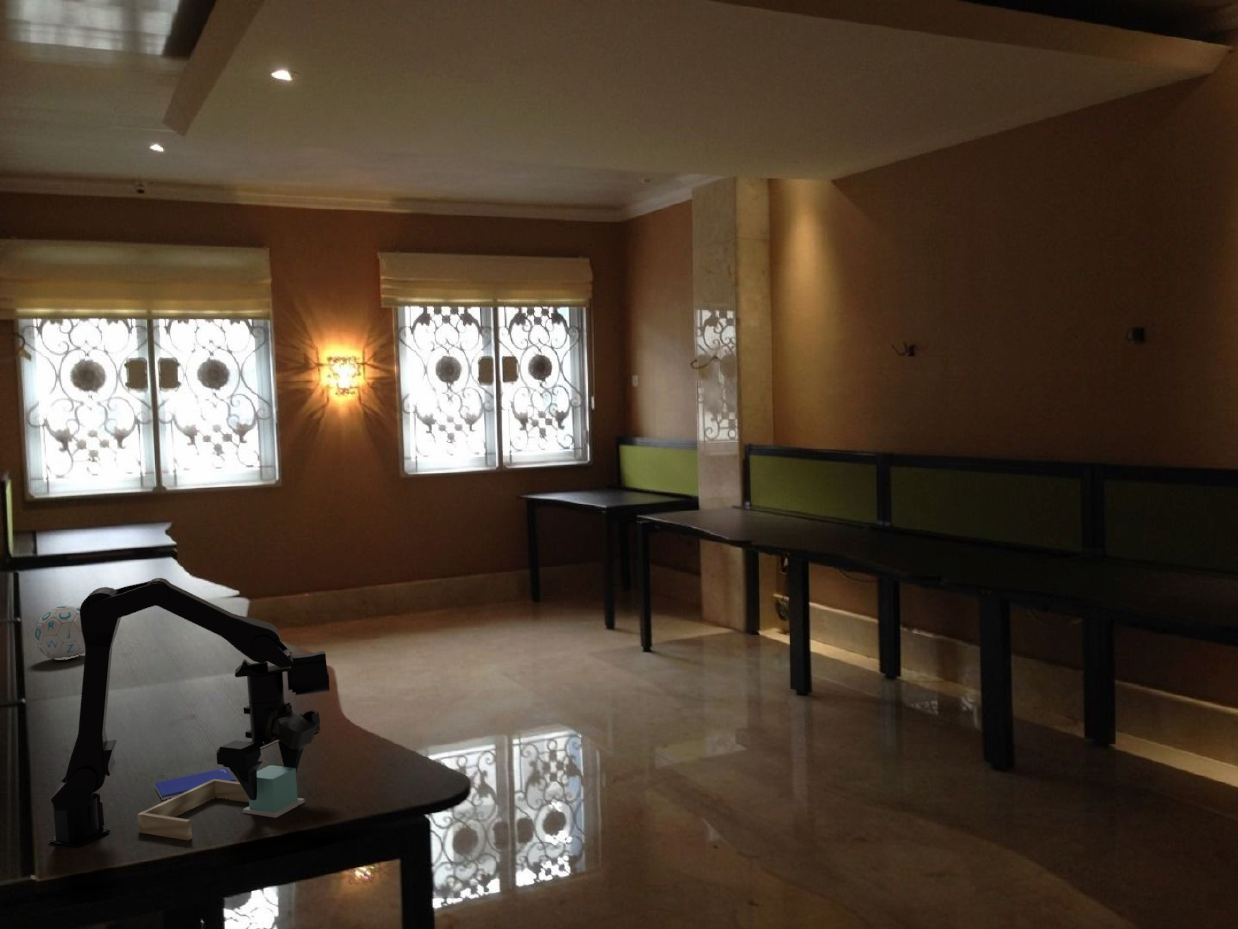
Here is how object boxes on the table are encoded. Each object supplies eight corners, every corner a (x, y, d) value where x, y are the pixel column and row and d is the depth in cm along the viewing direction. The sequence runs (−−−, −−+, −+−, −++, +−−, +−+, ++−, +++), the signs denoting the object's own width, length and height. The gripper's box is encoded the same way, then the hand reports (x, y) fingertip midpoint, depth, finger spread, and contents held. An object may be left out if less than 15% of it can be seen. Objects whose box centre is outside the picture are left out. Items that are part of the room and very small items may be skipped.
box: (188, 840, 171) (186, 821, 171) (138, 832, 175) (137, 814, 175) (262, 802, 186) (261, 785, 186) (215, 795, 191) (214, 778, 190)
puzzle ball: (42, 657, 309) (38, 604, 308) (100, 650, 314) (96, 599, 313) (31, 669, 295) (26, 614, 294) (92, 662, 299) (87, 608, 298)
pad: (276, 817, 179) (275, 814, 179) (243, 812, 182) (243, 809, 182) (304, 802, 185) (304, 798, 185) (272, 797, 188) (272, 794, 188)
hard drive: (225, 766, 203) (154, 782, 196) (235, 778, 196) (161, 795, 189) (226, 775, 203) (154, 790, 196) (236, 787, 196) (162, 804, 189)
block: (275, 812, 180) (272, 779, 179) (249, 808, 182) (247, 776, 182) (297, 800, 185) (295, 768, 184) (272, 796, 187) (270, 765, 187)
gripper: (264, 719, 171) (271, 816, 172) (341, 687, 188) (346, 776, 189) (210, 713, 175) (217, 808, 176) (289, 683, 192) (295, 770, 193)
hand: (272, 790), depth 183 cm, fingers open, 9 cm apart
